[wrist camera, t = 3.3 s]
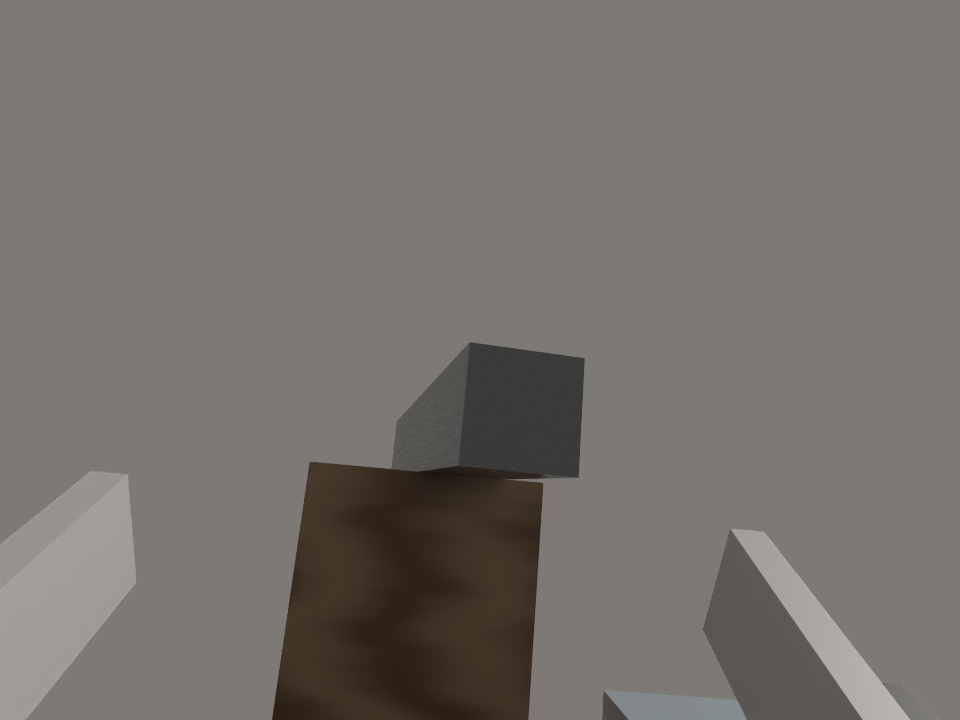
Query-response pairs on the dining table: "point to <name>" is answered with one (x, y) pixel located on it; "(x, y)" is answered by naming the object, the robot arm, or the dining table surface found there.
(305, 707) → the walnut stand
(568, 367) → the steel bar
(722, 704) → the grey-blue block
